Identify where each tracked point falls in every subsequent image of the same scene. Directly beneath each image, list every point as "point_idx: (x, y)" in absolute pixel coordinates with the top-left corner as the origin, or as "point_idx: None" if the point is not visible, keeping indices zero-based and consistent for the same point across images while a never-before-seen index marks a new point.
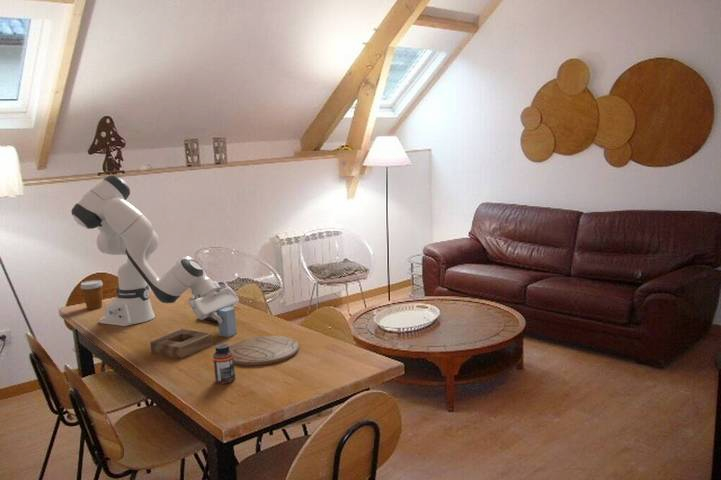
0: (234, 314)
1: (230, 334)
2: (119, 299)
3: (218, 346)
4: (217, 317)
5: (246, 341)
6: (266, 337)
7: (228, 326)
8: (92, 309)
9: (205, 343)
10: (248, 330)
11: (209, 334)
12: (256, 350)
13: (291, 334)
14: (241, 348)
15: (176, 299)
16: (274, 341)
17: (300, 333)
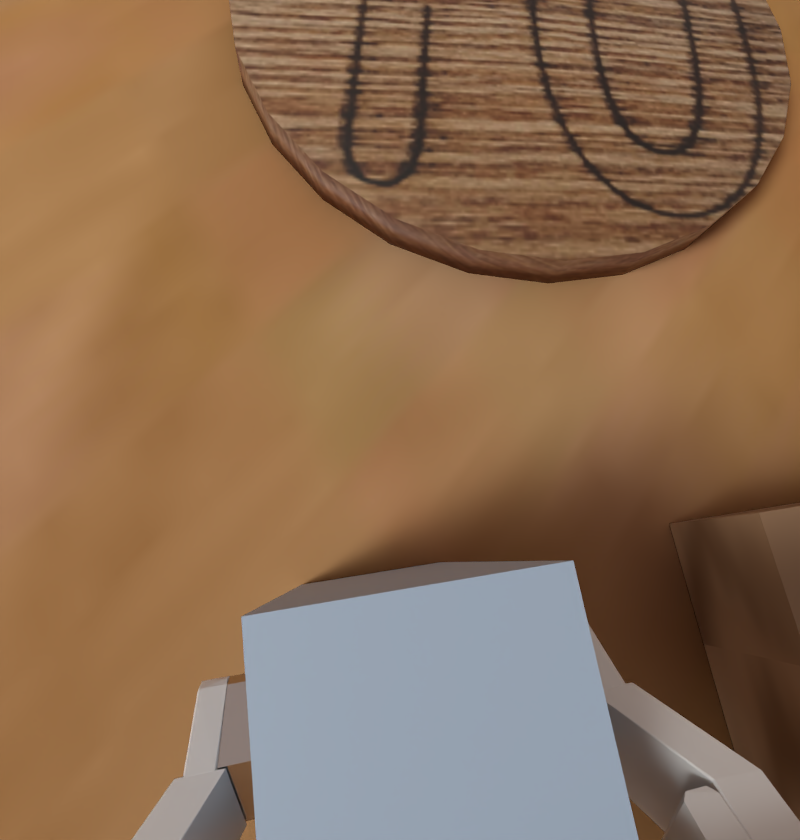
0: (285, 598)
1: (409, 567)
2: None
3: None
4: (657, 719)
5: (501, 200)
6: (327, 116)
7: (450, 565)
8: None
9: (792, 504)
10: (155, 538)
11: (788, 519)
12: (581, 15)
13: (75, 78)
14: (629, 129)
15: None
16: (366, 11)
17: (18, 30)
